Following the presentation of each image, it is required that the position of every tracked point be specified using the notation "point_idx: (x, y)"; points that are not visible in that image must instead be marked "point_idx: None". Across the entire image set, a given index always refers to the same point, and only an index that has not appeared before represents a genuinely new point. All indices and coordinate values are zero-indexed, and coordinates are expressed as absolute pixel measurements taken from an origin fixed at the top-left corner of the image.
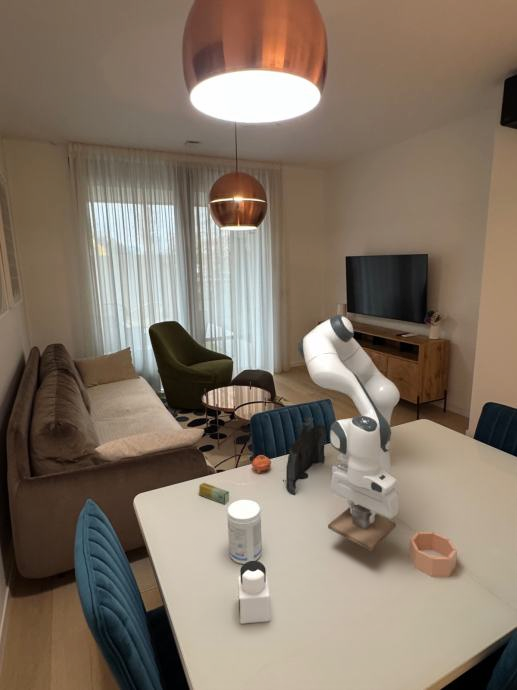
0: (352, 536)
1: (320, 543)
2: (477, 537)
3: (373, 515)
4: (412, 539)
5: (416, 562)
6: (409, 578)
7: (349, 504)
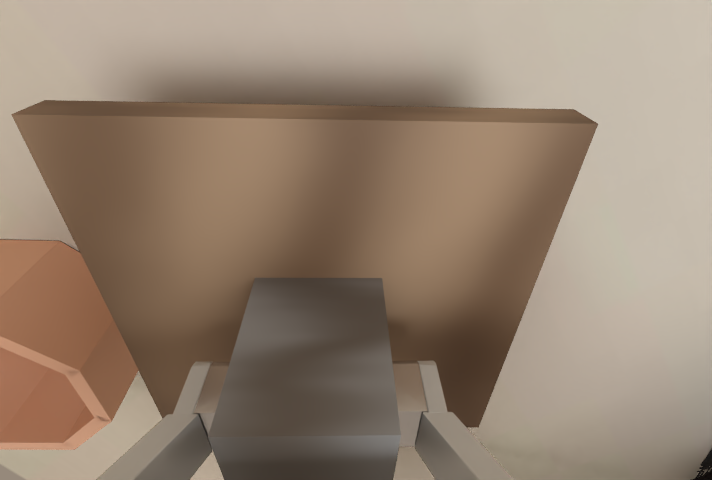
0: (270, 130)
1: (559, 74)
2: (94, 461)
3: (118, 465)
4: (72, 376)
5: (20, 270)
6: (20, 176)
7: (472, 459)
